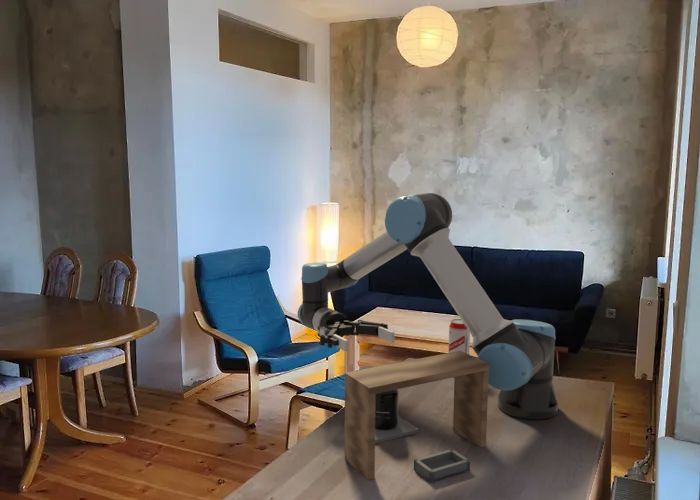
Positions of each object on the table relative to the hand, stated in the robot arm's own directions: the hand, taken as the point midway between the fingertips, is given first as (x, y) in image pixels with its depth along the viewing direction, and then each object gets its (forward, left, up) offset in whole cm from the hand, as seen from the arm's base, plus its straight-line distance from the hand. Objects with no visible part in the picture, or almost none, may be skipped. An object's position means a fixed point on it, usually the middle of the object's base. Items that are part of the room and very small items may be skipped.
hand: (370, 341), depth 157 cm
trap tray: (-15, +29, -19) cm, 38 cm away
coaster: (-3, +9, -19) cm, 21 cm away
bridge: (-10, +21, -19) cm, 30 cm away
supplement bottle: (-3, +9, -18) cm, 20 cm away
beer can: (-27, -30, -19) cm, 45 cm away
